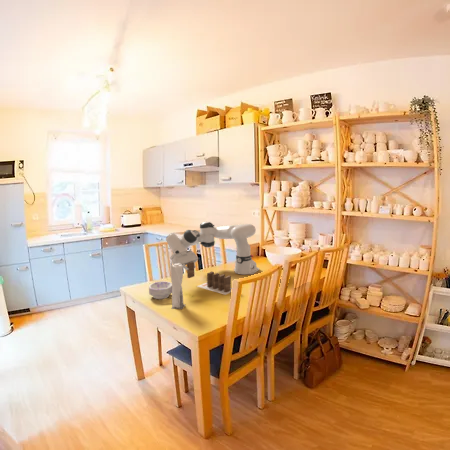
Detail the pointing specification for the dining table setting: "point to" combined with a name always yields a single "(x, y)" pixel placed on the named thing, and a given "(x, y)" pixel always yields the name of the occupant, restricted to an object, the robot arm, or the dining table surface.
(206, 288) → the board
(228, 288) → the domino
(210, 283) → the domino
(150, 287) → the paper bowls
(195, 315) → the dining table surface
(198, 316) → the dining table surface
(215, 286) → the domino
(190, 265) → the domino
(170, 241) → the robot arm
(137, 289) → the dining table surface
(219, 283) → the domino
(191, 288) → the dining table surface
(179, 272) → the skyscraper
